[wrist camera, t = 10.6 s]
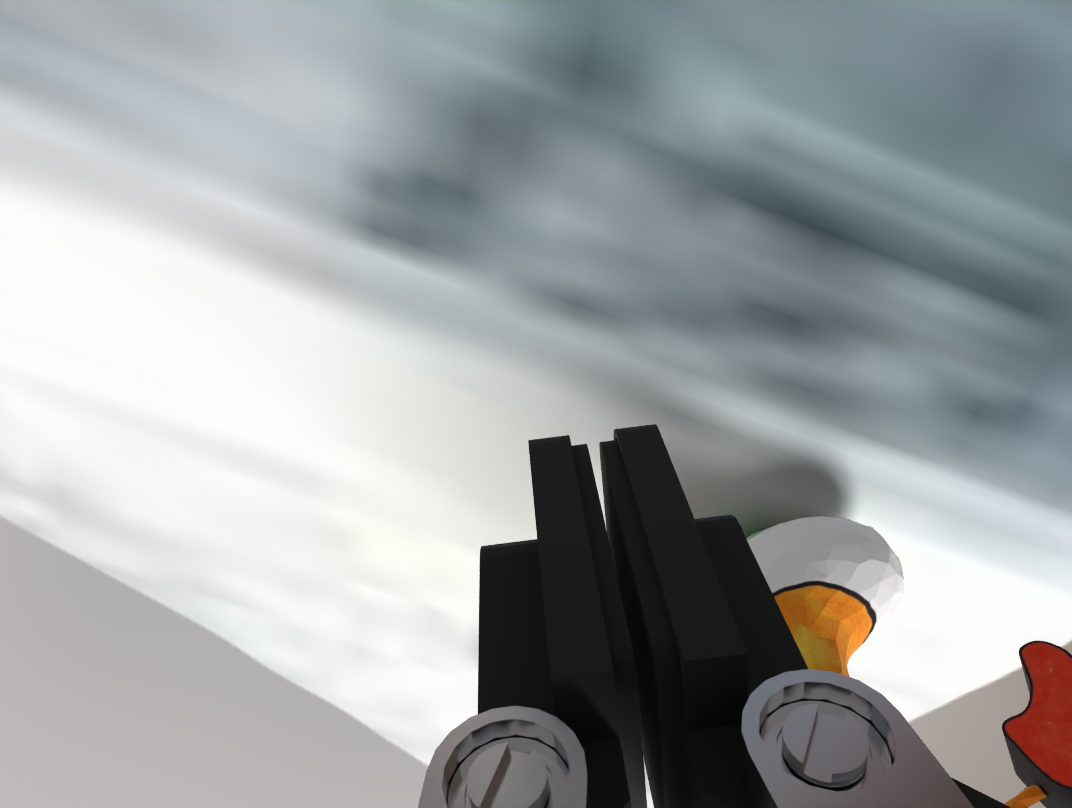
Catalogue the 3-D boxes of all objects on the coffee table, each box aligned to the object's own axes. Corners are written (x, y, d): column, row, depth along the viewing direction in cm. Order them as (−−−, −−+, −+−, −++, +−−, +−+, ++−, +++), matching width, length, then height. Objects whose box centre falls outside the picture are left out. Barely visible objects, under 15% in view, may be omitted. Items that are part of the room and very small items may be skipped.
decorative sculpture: (924, 427, 42) (1669, 1160, 16) (955, 531, 46) (1605, 1274, 19) (591, 568, 45) (737, 1372, 19) (643, 655, 49) (829, 1437, 22)
